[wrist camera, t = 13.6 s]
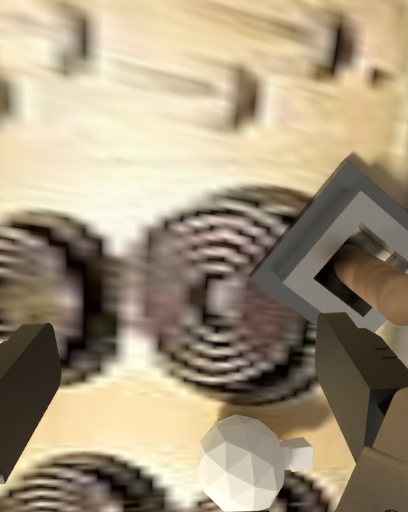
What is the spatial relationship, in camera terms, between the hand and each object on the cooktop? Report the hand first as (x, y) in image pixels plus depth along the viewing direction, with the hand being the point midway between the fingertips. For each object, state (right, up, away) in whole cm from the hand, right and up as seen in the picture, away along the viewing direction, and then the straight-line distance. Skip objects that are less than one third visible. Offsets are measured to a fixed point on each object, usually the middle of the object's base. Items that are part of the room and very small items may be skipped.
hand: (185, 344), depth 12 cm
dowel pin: (+15, +2, +27) cm, 31 cm away
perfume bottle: (+5, -18, +32) cm, 37 cm away
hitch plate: (+15, +2, +27) cm, 31 cm away
